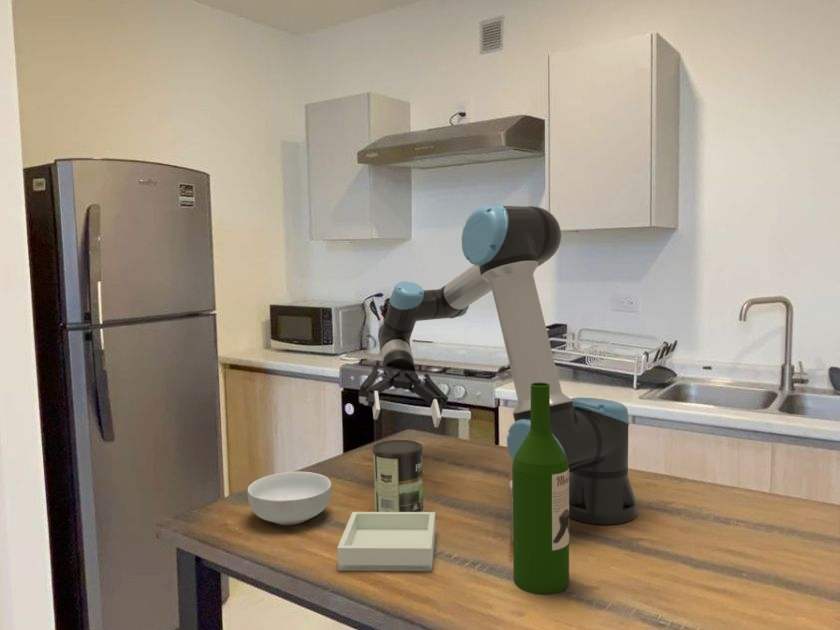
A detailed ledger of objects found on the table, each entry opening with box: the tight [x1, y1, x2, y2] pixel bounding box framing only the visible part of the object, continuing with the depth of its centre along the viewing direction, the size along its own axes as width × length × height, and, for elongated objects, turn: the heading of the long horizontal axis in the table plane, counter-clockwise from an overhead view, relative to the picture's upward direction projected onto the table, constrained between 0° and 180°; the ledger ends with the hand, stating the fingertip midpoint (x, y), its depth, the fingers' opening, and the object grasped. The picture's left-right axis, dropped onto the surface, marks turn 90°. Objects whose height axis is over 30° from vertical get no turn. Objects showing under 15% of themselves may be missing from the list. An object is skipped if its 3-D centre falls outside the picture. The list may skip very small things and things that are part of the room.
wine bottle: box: [512, 383, 570, 595], centre depth 109 cm, size 9×9×32 cm
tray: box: [336, 511, 436, 572], centre depth 123 cm, size 16×16×4 cm
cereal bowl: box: [246, 471, 332, 526], centre depth 139 cm, size 17×17×7 cm
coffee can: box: [371, 439, 425, 512], centre depth 140 cm, size 10×10×14 cm
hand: (407, 418), depth 145 cm, fingers open, 13 cm apart
